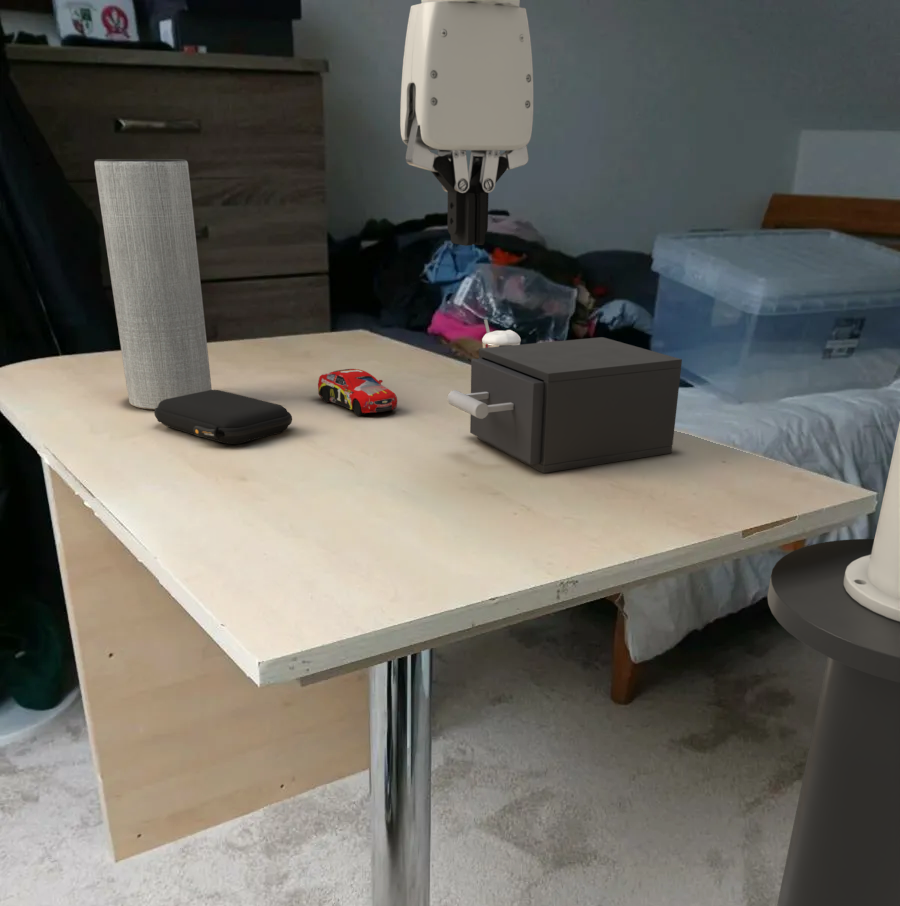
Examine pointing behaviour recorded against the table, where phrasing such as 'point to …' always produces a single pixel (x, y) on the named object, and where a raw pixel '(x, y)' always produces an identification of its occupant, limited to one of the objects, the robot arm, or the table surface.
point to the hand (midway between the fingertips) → (467, 243)
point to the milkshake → (499, 338)
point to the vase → (154, 277)
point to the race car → (356, 391)
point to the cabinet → (597, 399)
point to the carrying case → (223, 416)
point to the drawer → (504, 408)
